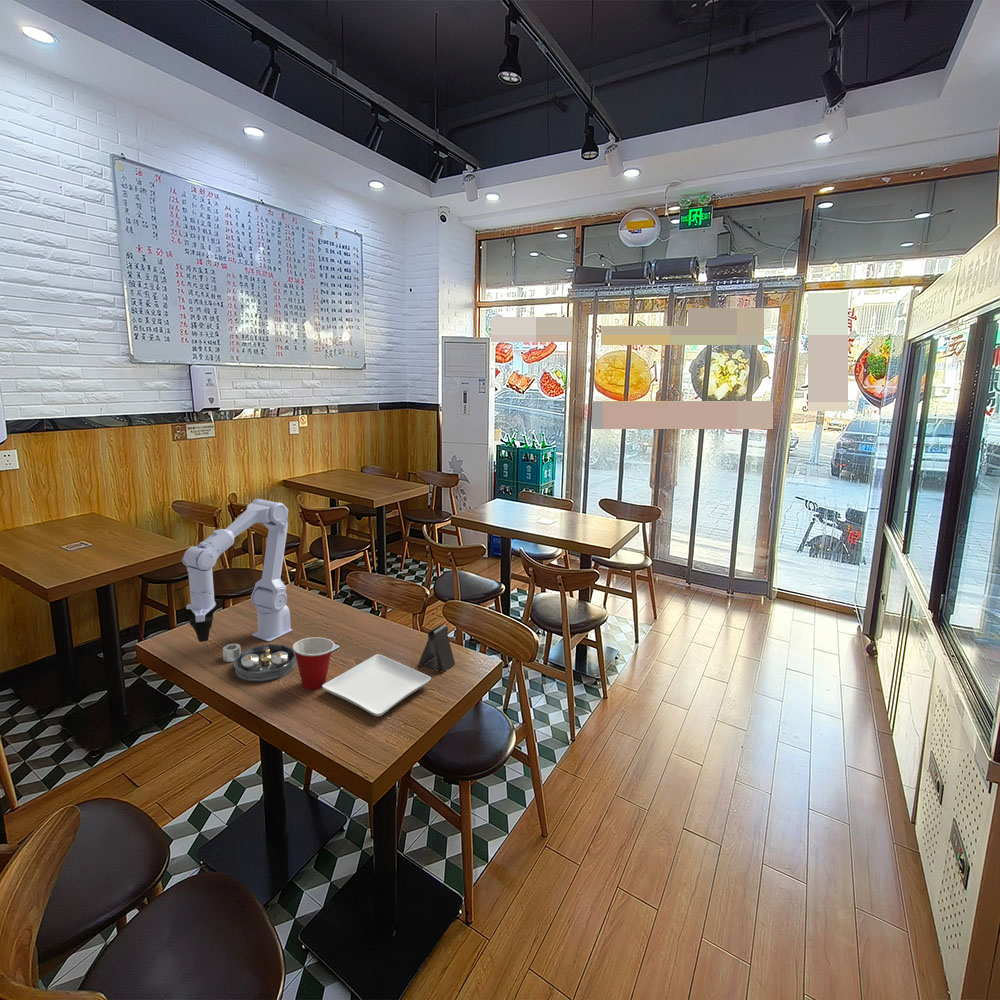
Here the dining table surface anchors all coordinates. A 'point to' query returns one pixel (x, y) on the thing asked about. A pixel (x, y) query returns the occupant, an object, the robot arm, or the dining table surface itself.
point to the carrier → (265, 663)
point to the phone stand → (438, 650)
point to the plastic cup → (313, 660)
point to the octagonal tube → (231, 652)
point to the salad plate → (377, 684)
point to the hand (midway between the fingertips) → (205, 634)
